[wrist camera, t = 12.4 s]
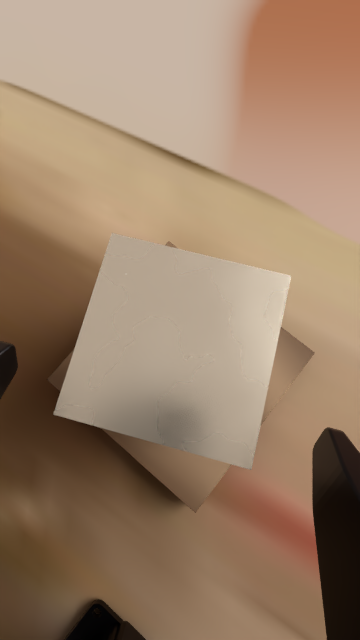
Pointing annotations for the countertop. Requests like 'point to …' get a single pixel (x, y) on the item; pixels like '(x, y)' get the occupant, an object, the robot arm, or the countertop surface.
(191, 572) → the countertop surface
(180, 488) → the walnut block
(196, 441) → the cream tea tin
